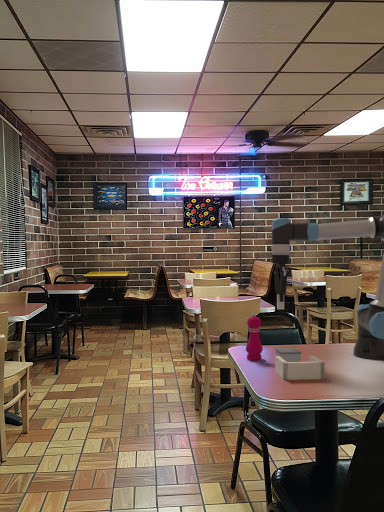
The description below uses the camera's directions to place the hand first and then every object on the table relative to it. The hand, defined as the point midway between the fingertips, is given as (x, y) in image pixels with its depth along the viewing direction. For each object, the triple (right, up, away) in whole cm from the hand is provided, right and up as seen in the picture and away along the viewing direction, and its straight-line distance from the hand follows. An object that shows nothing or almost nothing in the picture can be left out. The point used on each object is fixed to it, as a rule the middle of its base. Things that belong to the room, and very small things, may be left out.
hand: (280, 309), depth 182 cm
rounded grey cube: (+1, -22, -10) cm, 24 cm away
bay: (+2, -22, -23) cm, 32 cm away
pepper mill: (-11, -22, +2) cm, 25 cm away
